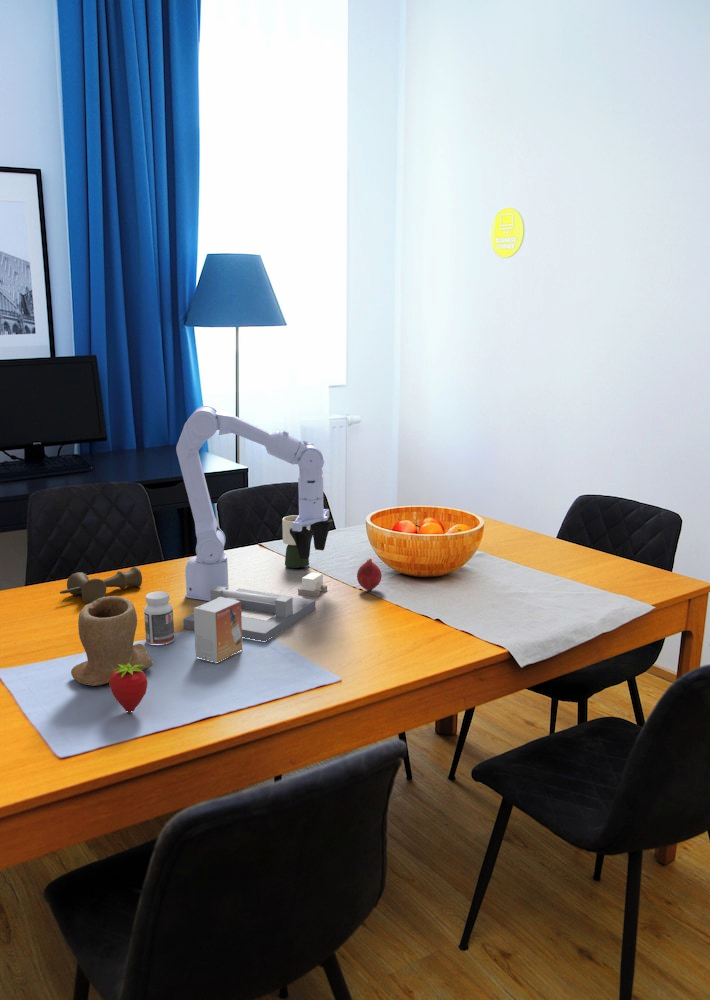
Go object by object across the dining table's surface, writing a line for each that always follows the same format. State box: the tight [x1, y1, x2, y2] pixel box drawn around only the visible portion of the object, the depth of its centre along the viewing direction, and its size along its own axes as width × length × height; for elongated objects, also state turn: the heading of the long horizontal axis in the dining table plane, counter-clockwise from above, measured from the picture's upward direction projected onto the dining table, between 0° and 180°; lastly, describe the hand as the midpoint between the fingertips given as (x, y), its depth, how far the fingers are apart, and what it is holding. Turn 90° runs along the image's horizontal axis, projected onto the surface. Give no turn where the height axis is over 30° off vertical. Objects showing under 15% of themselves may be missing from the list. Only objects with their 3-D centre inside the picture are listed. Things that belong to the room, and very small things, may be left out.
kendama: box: [59, 566, 143, 604], centre depth 210 cm, size 6×10×20 cm
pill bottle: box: [143, 590, 175, 645], centre depth 181 cm, size 6×6×10 cm
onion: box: [356, 558, 383, 592], centre depth 211 cm, size 6×6×8 cm
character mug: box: [281, 514, 311, 569], centre depth 229 cm, size 11×7×13 cm, turn 40°
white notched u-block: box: [297, 571, 328, 598], centre depth 211 cm, size 5×5×4 cm
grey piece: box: [182, 586, 317, 641], centre depth 194 cm, size 20×22×6 cm
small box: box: [193, 597, 243, 662], centre depth 173 cm, size 8×6×10 cm
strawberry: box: [108, 656, 149, 713], centre depth 150 cm, size 6×8×10 cm
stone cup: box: [70, 595, 154, 687], centre depth 164 cm, size 15×12×15 cm
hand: (312, 553), depth 209 cm, fingers open, 7 cm apart
